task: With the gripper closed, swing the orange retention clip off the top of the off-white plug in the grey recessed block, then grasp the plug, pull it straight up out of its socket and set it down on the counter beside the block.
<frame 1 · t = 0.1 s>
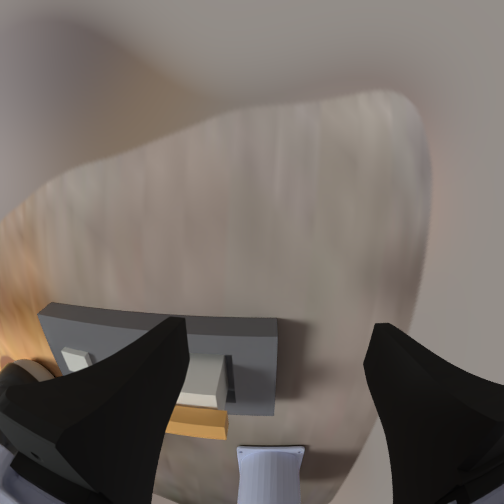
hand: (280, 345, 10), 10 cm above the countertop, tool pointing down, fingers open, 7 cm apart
grey recessed block: (152, 354, 23), on the countertop
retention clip: (164, 418, 16), point 7 cm above the countertop, hinge at 0.0°
plug: (203, 367, 22), point 1 cm above the countertop, touching grey recessed block
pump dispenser: (45, 376, 27), on the countertop
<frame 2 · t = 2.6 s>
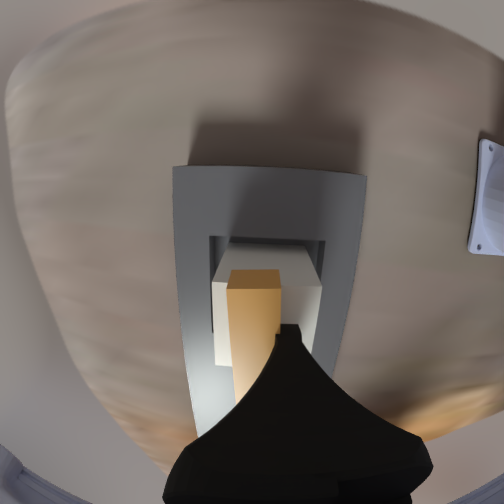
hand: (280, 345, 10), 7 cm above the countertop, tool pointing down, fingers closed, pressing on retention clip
grey recessed block: (260, 341, 18), on the countertop
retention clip: (256, 379, 10), point 7 cm above the countertop, hinge at 3.4°, touching gripper
plug: (264, 279, 15), point 1 cm above the countertop, touching grey recessed block
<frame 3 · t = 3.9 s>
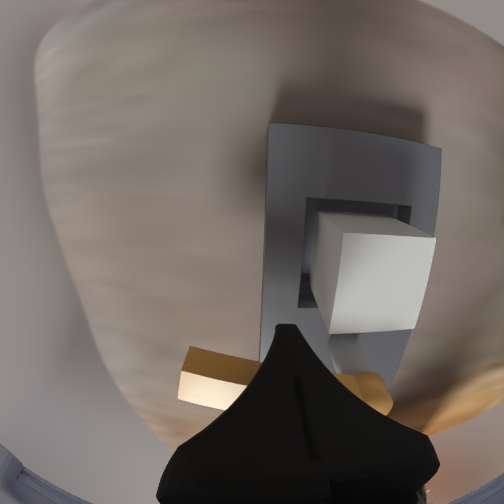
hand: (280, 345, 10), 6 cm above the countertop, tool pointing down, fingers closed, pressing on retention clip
grey recessed block: (331, 320, 17), on the countertop
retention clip: (294, 394, 10), point 7 cm above the countertop, hinge at 77.5°, touching gripper
plug: (348, 248, 14), point 1 cm above the countertop, touching grey recessed block
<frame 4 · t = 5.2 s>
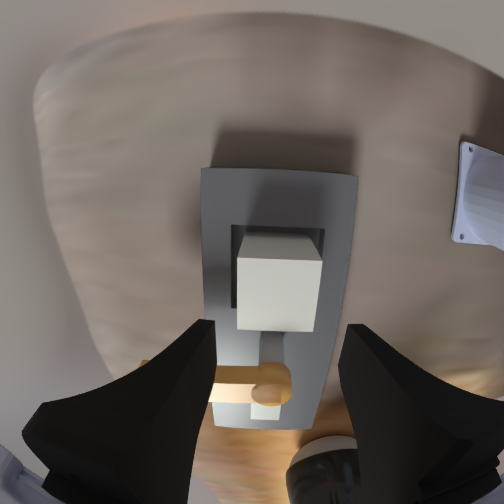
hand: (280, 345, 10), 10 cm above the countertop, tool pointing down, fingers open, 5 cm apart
grey recessed block: (271, 319, 21), on the countertop
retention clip: (212, 383, 14), point 7 cm above the countertop, hinge at 94.2°
plug: (275, 262, 18), point 1 cm above the countertop, touching grey recessed block
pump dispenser: (326, 445, 27), on the countertop
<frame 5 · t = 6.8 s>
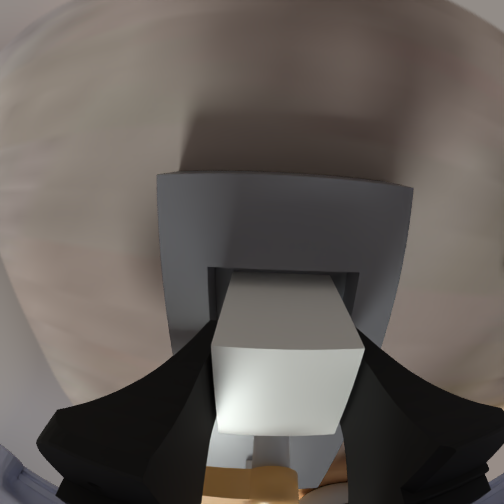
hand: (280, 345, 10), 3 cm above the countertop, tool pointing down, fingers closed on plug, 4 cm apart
grey recessed block: (271, 380, 15), on the countertop
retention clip: (189, 485, 8), point 7 cm above the countertop, hinge at 94.5°
plug: (278, 315, 12), point 1 cm above the countertop, touching gripper, grey recessed block
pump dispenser: (332, 490, 20), on the countertop
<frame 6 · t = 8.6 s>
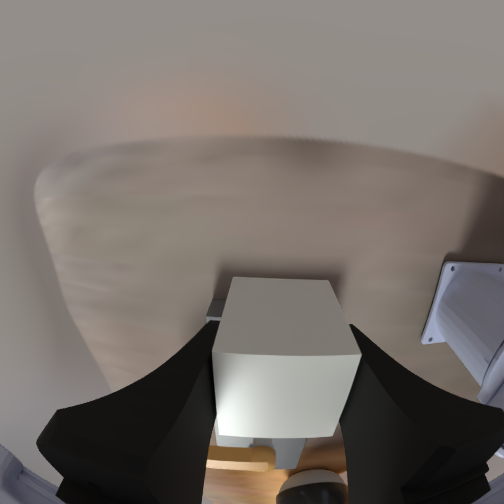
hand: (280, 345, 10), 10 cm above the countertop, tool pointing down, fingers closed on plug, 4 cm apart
grey recessed block: (263, 399, 24), on the countertop
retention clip: (220, 457, 18), point 7 cm above the countertop, hinge at 94.5°
plug: (278, 319, 12), point 8 cm above the countertop, touching gripper
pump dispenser: (310, 475, 30), on the countertop
when the fingers open (4 cm above the countertop, at t = 10.3 s): plug drops 2 cm, on the countertop.
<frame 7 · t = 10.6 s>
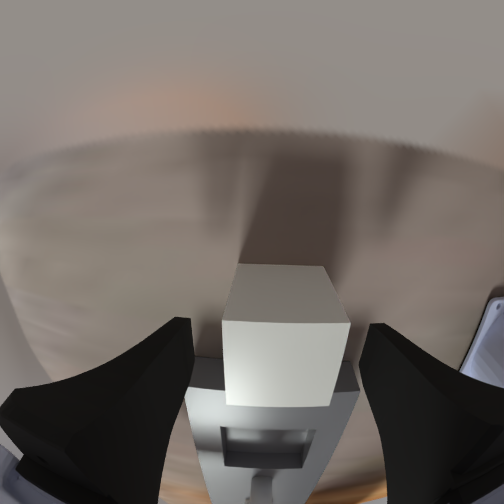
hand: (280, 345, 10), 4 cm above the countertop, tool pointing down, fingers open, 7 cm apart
grey recessed block: (262, 455, 18), on the countertop
plug: (278, 302, 14), on the countertop
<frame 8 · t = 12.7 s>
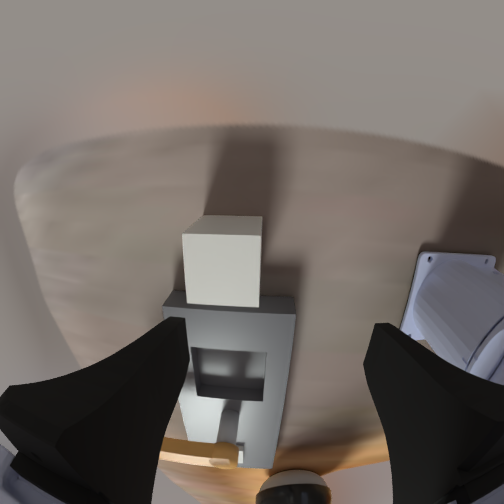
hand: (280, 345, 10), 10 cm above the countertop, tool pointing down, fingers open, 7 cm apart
grey recessed block: (233, 395, 24), on the countertop
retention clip: (183, 451, 17), point 7 cm above the countertop, hinge at 94.5°
plug: (232, 244, 19), on the countertop
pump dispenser: (292, 475, 30), on the countertop
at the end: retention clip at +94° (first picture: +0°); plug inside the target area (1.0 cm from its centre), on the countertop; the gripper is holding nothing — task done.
